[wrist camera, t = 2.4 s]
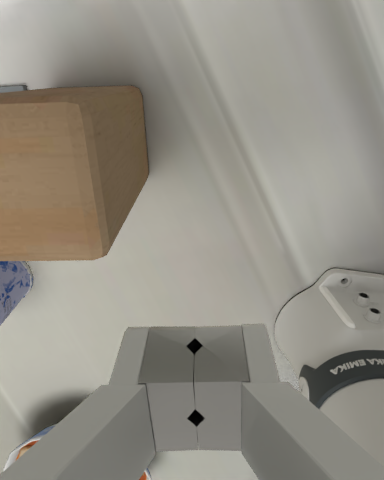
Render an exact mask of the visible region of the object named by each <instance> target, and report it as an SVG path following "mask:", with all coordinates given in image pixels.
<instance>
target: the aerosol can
mask: <svg viewBox="0 0 384 480" xmlns="http://www.w3.org/2000/svg"><path fill="white" fill-rule="evenodd" d="M32 285H33V275H32V272H31V270H30V268H29V266H28V265H27V264H26V262H25V261H0V325H1V324H2V323H3V321H4V320H5V319H6V318H7V317H8V315H9V314H10V313H11V312H12V310H13V309H14V308H15V307H16V305H17V304H18V303H19V302H20V300H21V299H22V298H24V297H25V296H26V295H27V294H28V293H29V292H30V290H31V288H32Z"/></svg>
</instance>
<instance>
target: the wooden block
mask: <svg viewBox="0 0 384 480" xmlns="http://www.w3.org/2000/svg"><path fill="white" fill-rule="evenodd" d="M148 174H149V170H148V159H147V147H146V135H145V123H144V111H143V99H142V94H141V92H140V90H139V88H136V87H134V86H132V85H131V86H99V87H68V88H47V89H37V90H26V91H15V92H5V93H0V261H58V260H95V259H98V258H101V257H104V256H105V255H107V253H108V252H109V250H110V248H111V246H112V244H113V242H114V240H115V238H116V237H117V235H118V233H119V231H120V229H121V227H122V225H123V223H124V222H125V220H126V218H127V216H128V214H129V212H130V210H131V208H132V207H133V205H134V203H135V201H136V199H137V197H138V195H139V193H140V192H141V190H142V188H143V186H144V184H145V182H146V180H147V177H148Z"/></svg>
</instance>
